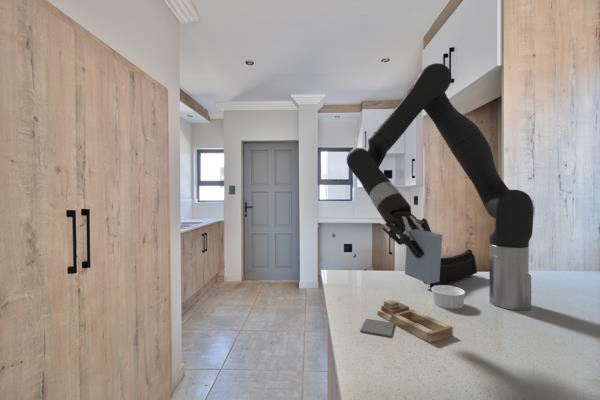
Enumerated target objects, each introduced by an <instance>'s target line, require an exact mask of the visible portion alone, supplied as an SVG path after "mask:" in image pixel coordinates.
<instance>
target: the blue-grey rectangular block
mask: <svg viewBox="0 0 600 400" xmlns="http://www.w3.org/2000/svg"><path fill="white" fill-rule="evenodd" d="M411 234H412V236H413V237H414V240H413V241H416V242H417V243H418V245H419V246H420V248H421V249H422V250H423V252H424V255H423V256H422V257H421V258H416V256H414V255H413V253H412V252H411V250H410V249H409V247H408V246H405V247H406V249H405V251H406V252H405V263H404V264H405V269H404V275H406V276H409V277H411V278H413V279H416V280H418V281H420V282H422V281H423V283H424V282H425V283H428V284H427V285H429V284H431V283H435V282H439V279H440V263H441V258H442V247H443V245H442V244H443V234H440V233H436V232H432V231H431V232H428V231H424V230H418V229H413V230H412V231H411ZM425 283H424V284H425Z"/></svg>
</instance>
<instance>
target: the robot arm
mask: <svg viewBox="0 0 600 400" xmlns="http://www.w3.org/2000/svg"><path fill="white" fill-rule="evenodd" d="M451 83H452V73H451V70H450V68H449V67H448V66H447V65H445V64H443V63H441V62H440V63H437V62H436V63H432V64H430V65H427V66H426V67H424V68H423V69H422V70H421V71H420V72H419V74H418V76H417V77H416V78H415V80H414V82H413V84H412V87H411V89H410V91H409V92H408V93H407V95H406V96H405V97H404V98H403V99H402V100H401V102H400V103H399V104H398V105H397V106H395V107H396V108H394V109H393V111H392V112H391V113H390V114H388V116H387V117H386V118H385V119H383V121H382V122H381V123H380V124H379V126H378V127H377V128H376V129H375V130H374V131H373V133H372V134H371V135H370V136H369V138H368V142H367V143H368V149H365V148H362V147H356V148H353V149H351V150H350V151H349V152H348V154H347V156H346V165H347V166H348V168H349V169H350V170H351V172H352V173H353V175H355V177H356V178H357V179H358V181H359V182H360V183H361V185H362V187H363V189H364V191H365V193H366V194H367V195H368V197H369V198H370V200H371V203H372V205H373V206H374V207H375V209H376V210H377V212H378V214H379V215H380V216H381V218H382V219H383V221H384V223H385V224H384V225H383V226H382V228H381V229H382V230H383V232H385V234H387V236H389V237H390V238H391V239H392V240H394V241H395V243H397V244H398V245H399V246H402V245H405V247H406V246H408V247H409V249H410V250H411V252H412V253H413V255H414V256H416V258H421V257H422V256H423V255H424V252H423V250H422V249H421V248H420V246H419V245H418V243H417V242H416V241H413V240H414V237H413V236H412V234H411V231H412V230H413V229H418V230H424V231H428V232H432V230H431V228H430V225H429V223H428V221H427V219H426V218H425V217H424V218H422V219H417V217H416V216H415V215H414V214H413V213H412V210H411V209H412V207H411V205H410V204H409V202H408V201H407V200H406V198H405V197H404V196H403V194H402V193H401V192H400V190H399V189H398V188H397V187H396V185H394V184H393V183H392V182H391V180H390V179H389V177H388V176H387V175H386V174H385V173H384V172H383V171H382V170H381V169H380V166H381V164H382V163H383V161H384V159H385V157H386V154H387V153H388V151H389V150H390V149H391V148H392V147H393V146H394V145H395V144H396V143H397V142H398V140H399V139H400V138H401V137H402V136H403V135H404V133H405V131H406V130H408V128H409V127H410V125H411V124H412V123H413V122H414V120H415V119H416V118H417V117H418V115H420V113H421V112H422V111H423V110H424V111H425V113H426V114H427V115H428V116H429V118H430V119H431V121H432V122H433V124H434V125H435V128H436V129H437V130H438V132H439V134H440V135H441V137H442V138H443V139H444V142H445V143H446V145H447V147H448V149H449V151H450V152H451V153H452V155H453V156H454V158H455V159H456V161H457V162H458V164H459V165H460V166H461V168H462V170H463V171H464V173H465V174H466V176H467V177H468V178H469V180H470V182H471V183H472V184H473V186H474V188H475V190H476V192H477V194H478V196H479V198H480V201H481V202H482V204H483V207H484V208H485V210H486V212H487V213H488V214H489V216H490V217H491V218H493V219H495V227H494V231H493V232H492V233H491V234H490V235H489V293H488V295H489V303H490V304H492V305H494V306H496V307H500V308H501V309H502V308H503V309H506V310H507V309H508V310H512V311H513V310H515V311H523V310H527V311H529V310H530V311H532V275H531V274H530V270H529V268H530V267H529V265H530V263H529V262H530V254H529V253H530V252H529V251H530V250H529V249H530V248H529V247H530V241H531V238H532V235H533V232H534V231H533V230H534V229H533V228H534V203H533V200H532V198H531V196H530V195H529V194H528V193H526V192H525V191H522V190H519V189H510V188H509V187H508V186H507V185H506V184H505V182H504V181H503V179H502V178H501V177H500V175H499V173H498V171H497V168H496V165H495V161H494V157H493V156H494V155H493V150H492V148H491V145H490V143H489V141H488V140H487V138H486V137H485V135H484V134H483V133H482V131H481V129H480V127H479V126H477V125H476V124H475V123H474V122H473V121H472V119H470V118H468V117H466V116H465V115H464V114H462V113H461V112H459V111H458V110H457V109H456V108H455V106H454V105H453V104H452V103H451V101H450V99H449V97H448V95H447V94H446V92H447V90H448V89H449V87H450V85H451ZM397 235H398V236H397Z"/></svg>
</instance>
